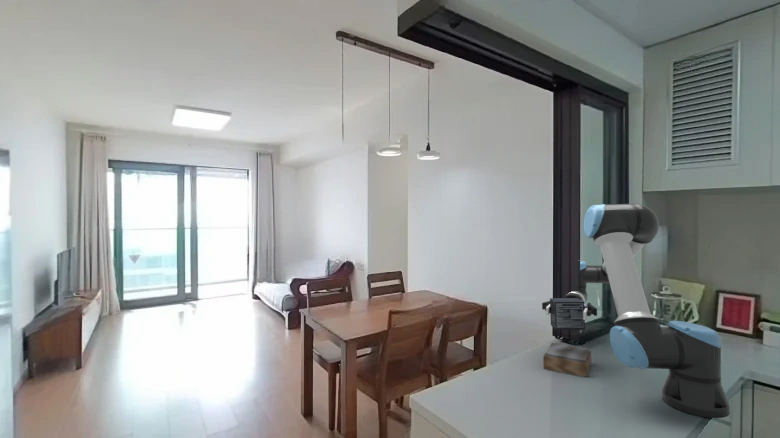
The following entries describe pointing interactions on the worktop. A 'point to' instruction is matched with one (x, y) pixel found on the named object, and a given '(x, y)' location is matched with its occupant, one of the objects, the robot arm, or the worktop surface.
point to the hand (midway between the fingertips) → (565, 313)
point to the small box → (567, 313)
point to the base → (568, 359)
